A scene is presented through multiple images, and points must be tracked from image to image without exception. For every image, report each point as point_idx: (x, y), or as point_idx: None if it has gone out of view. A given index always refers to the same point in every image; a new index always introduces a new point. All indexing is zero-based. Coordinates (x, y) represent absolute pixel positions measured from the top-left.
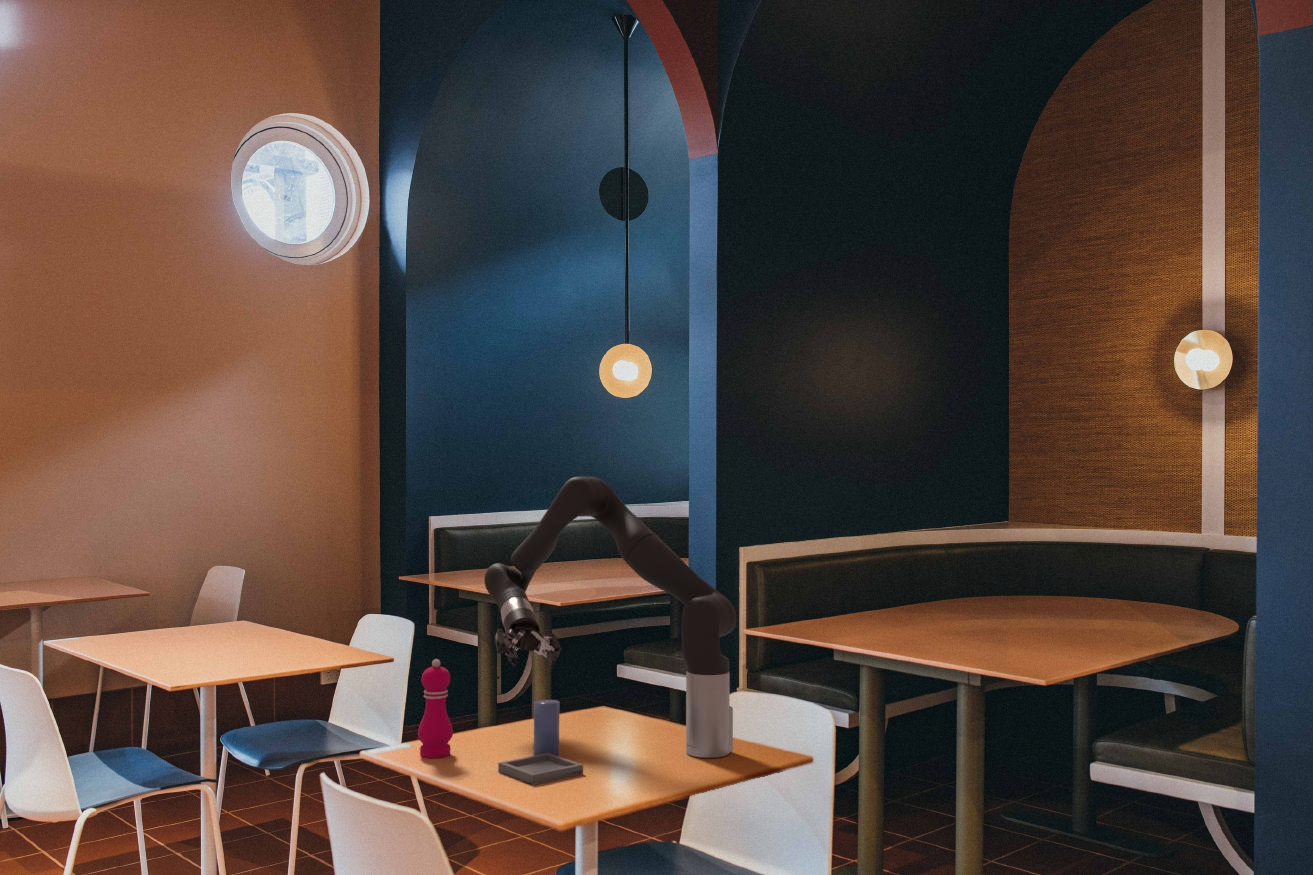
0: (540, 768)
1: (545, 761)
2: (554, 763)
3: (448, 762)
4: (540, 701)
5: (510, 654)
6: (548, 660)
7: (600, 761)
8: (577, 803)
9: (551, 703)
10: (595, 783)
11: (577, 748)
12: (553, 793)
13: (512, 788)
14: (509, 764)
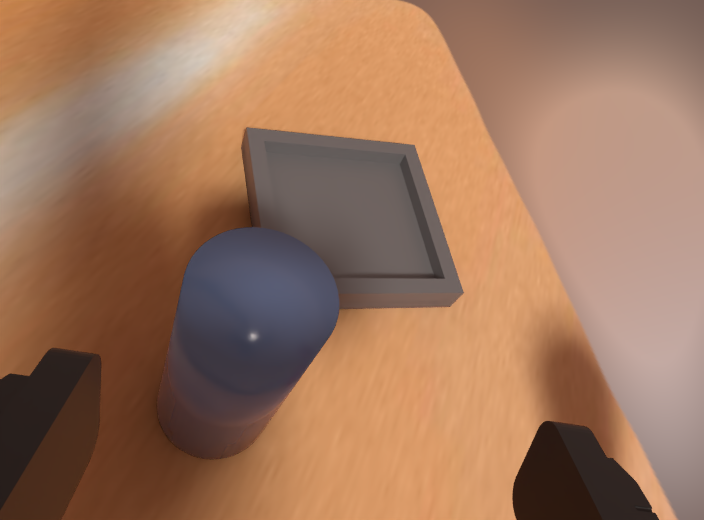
0: (346, 221)
1: None
2: None
3: None
4: (288, 327)
5: (650, 511)
6: (45, 517)
7: (99, 205)
8: (366, 30)
9: (258, 248)
10: (261, 79)
11: None
12: (383, 94)
13: (454, 171)
14: (438, 256)
